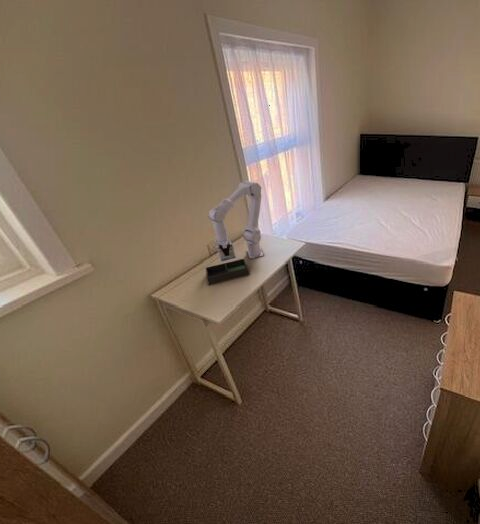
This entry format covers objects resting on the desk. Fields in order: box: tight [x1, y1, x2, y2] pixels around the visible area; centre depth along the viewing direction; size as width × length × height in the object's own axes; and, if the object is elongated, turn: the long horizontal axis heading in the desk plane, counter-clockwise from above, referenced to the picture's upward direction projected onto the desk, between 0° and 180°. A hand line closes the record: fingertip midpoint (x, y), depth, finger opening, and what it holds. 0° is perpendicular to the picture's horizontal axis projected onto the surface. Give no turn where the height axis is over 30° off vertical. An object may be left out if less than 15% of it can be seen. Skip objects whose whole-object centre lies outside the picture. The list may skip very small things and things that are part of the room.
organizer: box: [205, 258, 250, 286], centre depth 154 cm, size 11×21×5 cm, turn 115°
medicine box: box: [216, 241, 236, 262], centre depth 154 cm, size 8×4×9 cm, turn 117°
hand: (226, 253), depth 155 cm, fingers closed on medicine box, 4 cm apart
